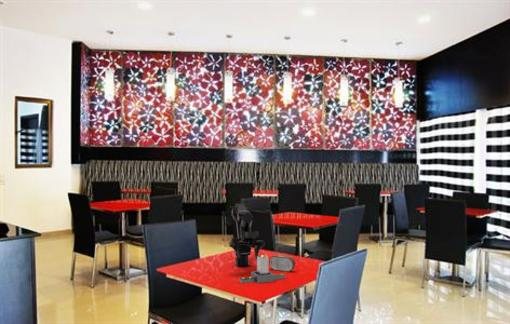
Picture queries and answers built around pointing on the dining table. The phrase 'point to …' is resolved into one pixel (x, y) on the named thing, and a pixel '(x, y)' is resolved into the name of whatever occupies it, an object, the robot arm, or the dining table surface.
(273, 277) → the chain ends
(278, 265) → the tin
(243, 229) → the robot arm
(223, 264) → the dining table surface
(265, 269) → the grey upright column
